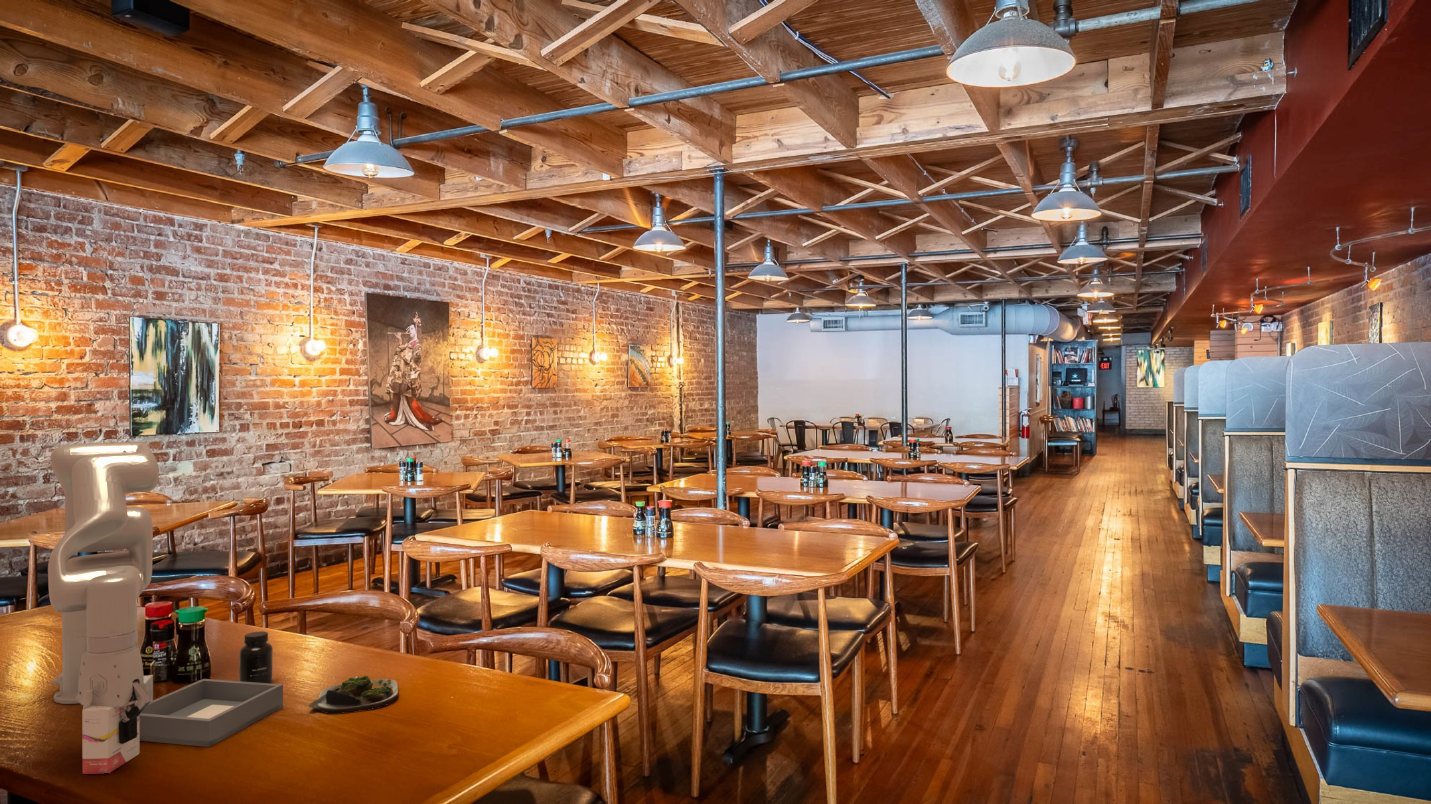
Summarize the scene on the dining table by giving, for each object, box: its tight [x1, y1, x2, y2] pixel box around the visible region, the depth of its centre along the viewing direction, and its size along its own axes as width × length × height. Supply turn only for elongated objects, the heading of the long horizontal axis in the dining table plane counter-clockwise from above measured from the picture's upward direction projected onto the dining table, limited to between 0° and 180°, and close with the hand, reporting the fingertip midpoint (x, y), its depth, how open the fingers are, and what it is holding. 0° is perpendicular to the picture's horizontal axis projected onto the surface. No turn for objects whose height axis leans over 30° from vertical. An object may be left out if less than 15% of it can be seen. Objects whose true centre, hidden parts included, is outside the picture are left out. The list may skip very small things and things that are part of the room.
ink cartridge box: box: [81, 689, 140, 775], centre depth 149 cm, size 9×5×15 cm, turn 3°
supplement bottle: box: [238, 631, 274, 684], centre depth 189 cm, size 7×7×12 cm
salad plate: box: [308, 675, 399, 714], centre depth 182 cm, size 19×18×5 cm
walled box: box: [139, 678, 284, 748], centre depth 168 cm, size 20×20×5 cm
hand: (113, 738), depth 149 cm, fingers closed on ink cartridge box, 5 cm apart
